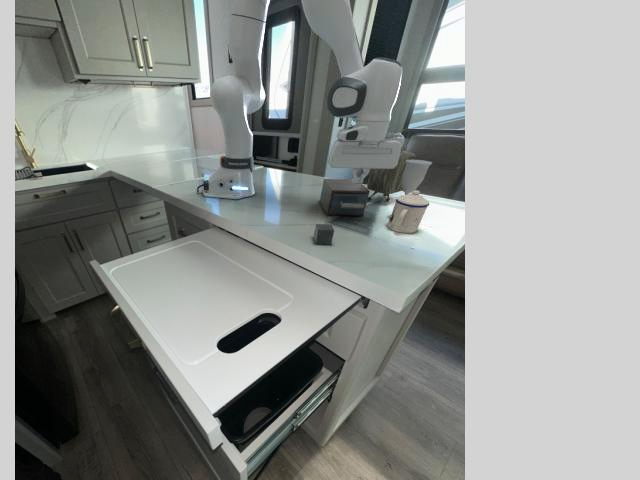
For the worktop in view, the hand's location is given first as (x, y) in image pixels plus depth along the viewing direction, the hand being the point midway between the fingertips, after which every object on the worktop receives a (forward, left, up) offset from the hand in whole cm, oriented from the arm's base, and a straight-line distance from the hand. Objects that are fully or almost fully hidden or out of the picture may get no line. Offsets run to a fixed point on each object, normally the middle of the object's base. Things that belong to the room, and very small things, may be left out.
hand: (356, 183), depth 85 cm
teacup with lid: (+15, -8, -12) cm, 21 cm away
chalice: (+18, +2, -12) cm, 22 cm away
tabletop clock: (+20, +22, -12) cm, 32 cm away
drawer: (0, +7, -11) cm, 13 cm away
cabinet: (0, +11, -12) cm, 16 cm away
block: (-12, -19, -12) cm, 25 cm away
